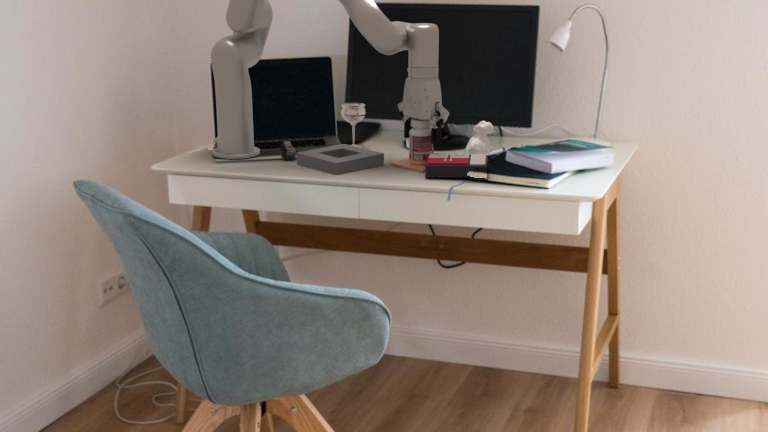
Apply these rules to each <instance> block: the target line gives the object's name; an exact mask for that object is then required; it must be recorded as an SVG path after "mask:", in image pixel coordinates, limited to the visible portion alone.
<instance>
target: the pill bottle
mask: <svg viewBox="0 0 768 432" xmlns="http://www.w3.org/2000/svg"><path fill="white" fill-rule="evenodd" d="M411 127H413V128H412V129H411V130H410V131H409V148H408V153H409V155H408V158H409V161H410V163H412V164H416V165H425V164H426V161H427V158H428V155H430V153H434V144H432V143H431V127H432V124H431V122H430V120H420V119H415V118H413V119H411Z"/></svg>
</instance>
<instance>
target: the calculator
mask: <svg viewBox="0 0 768 432" xmlns="http://www.w3.org/2000/svg"><path fill="white" fill-rule="evenodd" d="M488 162H489V155H486V154H471V155H469V153H465V152H450V154H449V153H448V152H433V153H430V155H428V158H427V161H426V165H425V172H424V173H425V175H424V177H425V178H468V179H469V180H471V181H473V180H474V181H487V179H488V178H487V179H485V178H474V177H470V176H467V173H468V172H469V171H471V170H473V169H475V168H487V163H488ZM488 164H489V163H488Z"/></svg>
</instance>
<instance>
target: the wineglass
mask: <svg viewBox="0 0 768 432" xmlns="http://www.w3.org/2000/svg"><path fill="white" fill-rule="evenodd" d="M365 106H366V104H365V103H361V102H346V103H345V102H344V103H342V104H341V107H342V109H341V111H340V114H341V117H342V118H343V120H344V121H346V122H347V123H349V124H350V126H351V128H352V129H351V130H352V131H351V134H352V144H350V145H351V146H355V147H359V148H363V146H361V145H358V144H355V132H356V125H357V124H358V123H361V121H362V120H363V119H365V116H366V108H365Z"/></svg>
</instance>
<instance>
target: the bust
mask: <svg viewBox="0 0 768 432" xmlns="http://www.w3.org/2000/svg"><path fill="white" fill-rule="evenodd" d="M473 132H474V135H473V136H472V137H471V138H470V139H469V140H468V142H467V144H466V146H465V149H464V153H469V155H471V154H488V153H489V154H490V153H491V151H492V146H491V140H489V138H488V136H487V135H489V134H490V135H492V133H493V132H494V126H493V124H492V123H491V122H490V121H486V120H481V121H479V122H478V123H477V124H476V125H475V126H474V127H473Z"/></svg>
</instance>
